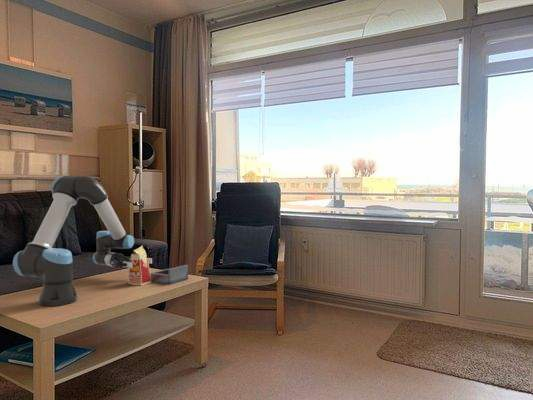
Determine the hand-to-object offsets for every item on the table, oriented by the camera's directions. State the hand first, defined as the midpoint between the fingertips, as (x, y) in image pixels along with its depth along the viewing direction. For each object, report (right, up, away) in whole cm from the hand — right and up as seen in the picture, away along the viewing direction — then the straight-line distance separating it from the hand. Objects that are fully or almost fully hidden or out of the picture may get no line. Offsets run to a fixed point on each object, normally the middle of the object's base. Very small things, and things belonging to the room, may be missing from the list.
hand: (142, 263), depth 212 cm
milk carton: (-2, -11, +1) cm, 11 cm away
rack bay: (+13, -11, +8) cm, 18 cm away
